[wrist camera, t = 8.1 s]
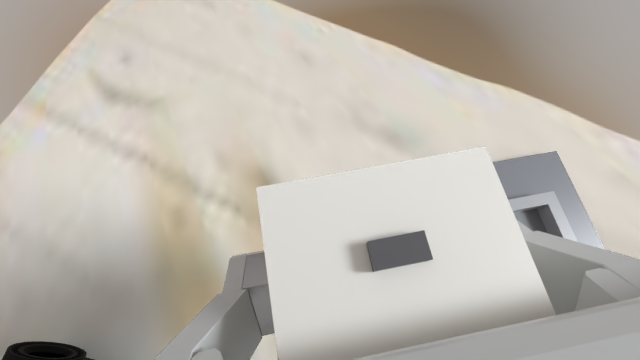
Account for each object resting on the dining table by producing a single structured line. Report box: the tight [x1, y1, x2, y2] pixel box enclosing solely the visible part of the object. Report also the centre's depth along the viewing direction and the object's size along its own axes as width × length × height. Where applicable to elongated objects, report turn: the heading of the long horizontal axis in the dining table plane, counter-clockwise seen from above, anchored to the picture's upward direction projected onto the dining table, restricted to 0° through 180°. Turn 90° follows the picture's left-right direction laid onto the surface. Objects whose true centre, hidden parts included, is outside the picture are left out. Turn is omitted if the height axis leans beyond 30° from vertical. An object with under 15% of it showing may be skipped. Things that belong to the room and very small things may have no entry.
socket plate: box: [493, 151, 605, 250], centre depth 27 cm, size 16×16×2 cm
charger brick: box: [256, 146, 556, 360], centre depth 11 cm, size 6×4×10 cm
